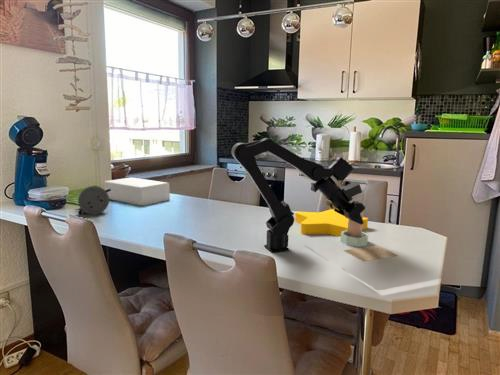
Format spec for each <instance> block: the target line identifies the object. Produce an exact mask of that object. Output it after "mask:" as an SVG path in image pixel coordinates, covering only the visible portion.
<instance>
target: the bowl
mask: <svg viewBox="0 0 500 375" xmlns="http://www.w3.org/2000/svg"><path fill="white" fill-rule="evenodd" d="M347 232H348V231H342V233H341V236H340V240H339V241H340V242H341V243H342V244H345V245H347V246H351V247H357V248H360V247H367V246H368V243H369V234H368V233H366V232H364V231H362V235H361V237H360V238H356V237H349V236H347Z"/></svg>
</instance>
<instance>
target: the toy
mask: <svg viewBox="0 0 500 375" xmlns="http://www.w3.org/2000/svg"><path fill="white" fill-rule="evenodd" d="M109 191H111V189H108V190H105V188H102V187H100V186H95V185H94V186H87V187H86V188H85V189H83V190H82V191H81V192H80V194H79V195H78V199H77V202H78V206H79V208H80V209H79V211H78V212H77V214H79V215H81V214H82V212H83V213H86V214H87V215H99V214H101V213H103V212H104V211H105V210H106V209H107V208H108V206H109V205H110V204H109V203H110V199H109V196H108V194H107V192H109Z"/></svg>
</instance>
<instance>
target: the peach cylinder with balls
mask: <svg viewBox="0 0 500 375" xmlns="http://www.w3.org/2000/svg"><path fill="white" fill-rule="evenodd" d="M357 201H358V202H360V201H359V200H357ZM360 215H361V217H362V220H363V217H364V210H363V211H362V212H361V213H360ZM362 232H363V229H362V225H361V224H359V223H357V222H354V221H352V220H350V219H348V232H347V236H349V237H356V238H360V237H361V235H362Z"/></svg>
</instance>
